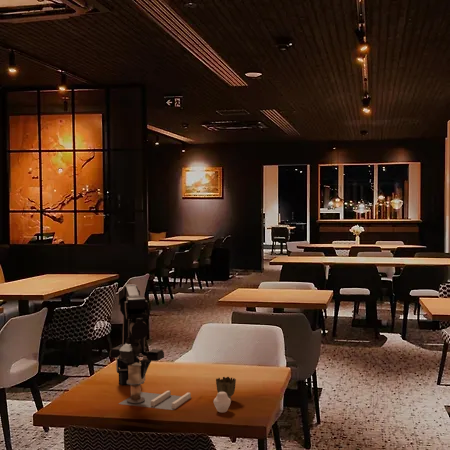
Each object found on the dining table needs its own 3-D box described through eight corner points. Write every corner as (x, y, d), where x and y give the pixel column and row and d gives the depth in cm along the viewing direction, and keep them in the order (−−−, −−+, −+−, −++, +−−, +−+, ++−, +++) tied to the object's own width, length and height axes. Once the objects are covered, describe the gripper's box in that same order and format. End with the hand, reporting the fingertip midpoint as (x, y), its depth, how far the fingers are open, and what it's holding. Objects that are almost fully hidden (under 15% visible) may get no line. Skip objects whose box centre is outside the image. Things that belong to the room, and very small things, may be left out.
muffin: (233, 412, 224) (232, 392, 223) (216, 414, 222) (216, 394, 222) (228, 407, 230) (227, 388, 229) (211, 409, 228) (211, 389, 228)
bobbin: (123, 402, 232) (123, 381, 232) (132, 397, 238) (132, 377, 238) (139, 404, 230) (139, 383, 230) (147, 399, 236) (147, 378, 236)
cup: (221, 404, 233) (221, 382, 233) (212, 399, 240) (212, 378, 239) (239, 401, 237) (239, 380, 236) (230, 396, 243) (230, 375, 243)
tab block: (128, 382, 223) (128, 365, 223) (135, 379, 227) (135, 362, 227) (138, 383, 221) (138, 366, 221) (145, 380, 226) (145, 363, 226)
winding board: (118, 407, 231) (117, 398, 231) (139, 394, 246) (139, 387, 246) (173, 413, 223) (173, 404, 223) (191, 400, 238) (191, 392, 238)
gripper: (101, 336, 220) (101, 381, 220) (149, 339, 213) (150, 386, 214) (117, 330, 230) (118, 373, 231) (164, 333, 224) (165, 378, 224)
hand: (137, 378), depth 224 cm, fingers closed on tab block, 4 cm apart
